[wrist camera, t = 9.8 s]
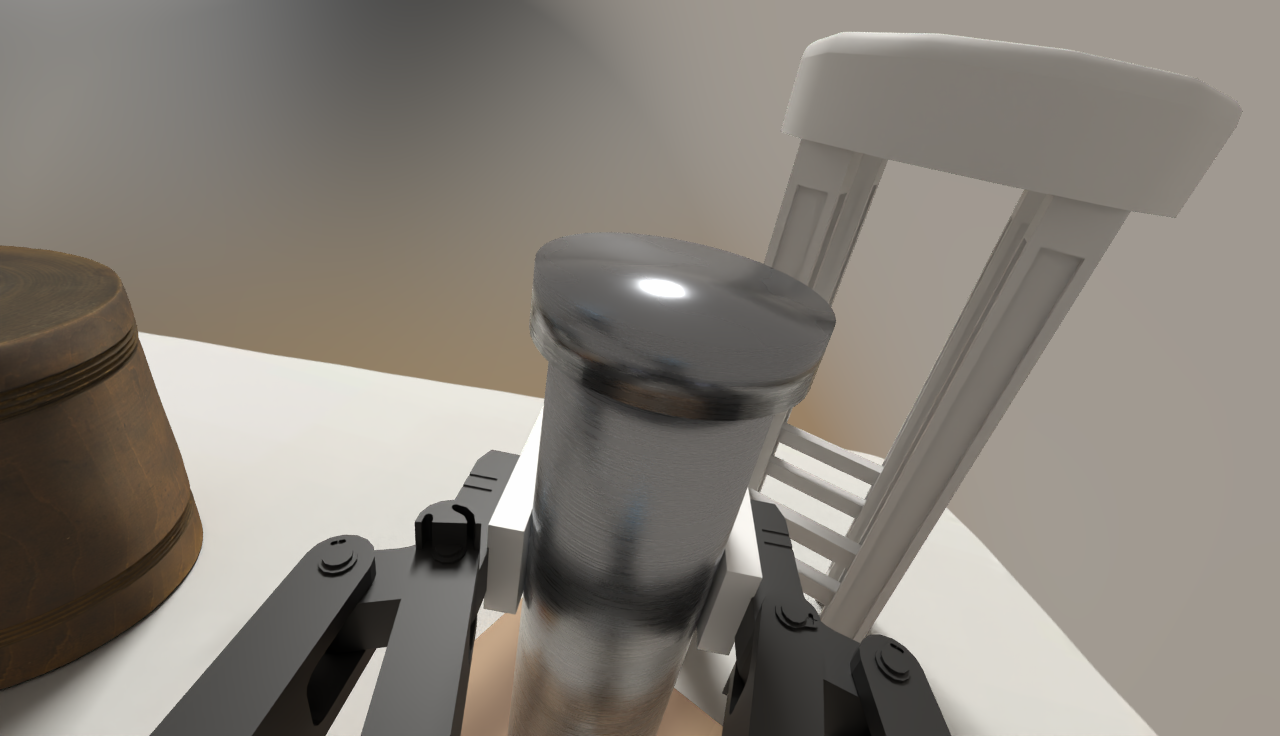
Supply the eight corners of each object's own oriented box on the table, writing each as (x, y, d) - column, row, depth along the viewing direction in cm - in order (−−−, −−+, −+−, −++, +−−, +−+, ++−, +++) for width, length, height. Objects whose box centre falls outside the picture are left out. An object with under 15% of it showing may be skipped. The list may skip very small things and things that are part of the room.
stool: (709, 499, 47) (849, 67, 31) (879, 592, 41) (1167, 117, 25) (616, 618, 35) (767, 8, 19) (839, 775, 29) (1354, 78, 13)
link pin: (455, 762, 16) (465, 251, 8) (569, 640, 20) (646, 222, 12) (585, 907, 13) (768, 389, 6) (683, 736, 17) (867, 298, 10)
